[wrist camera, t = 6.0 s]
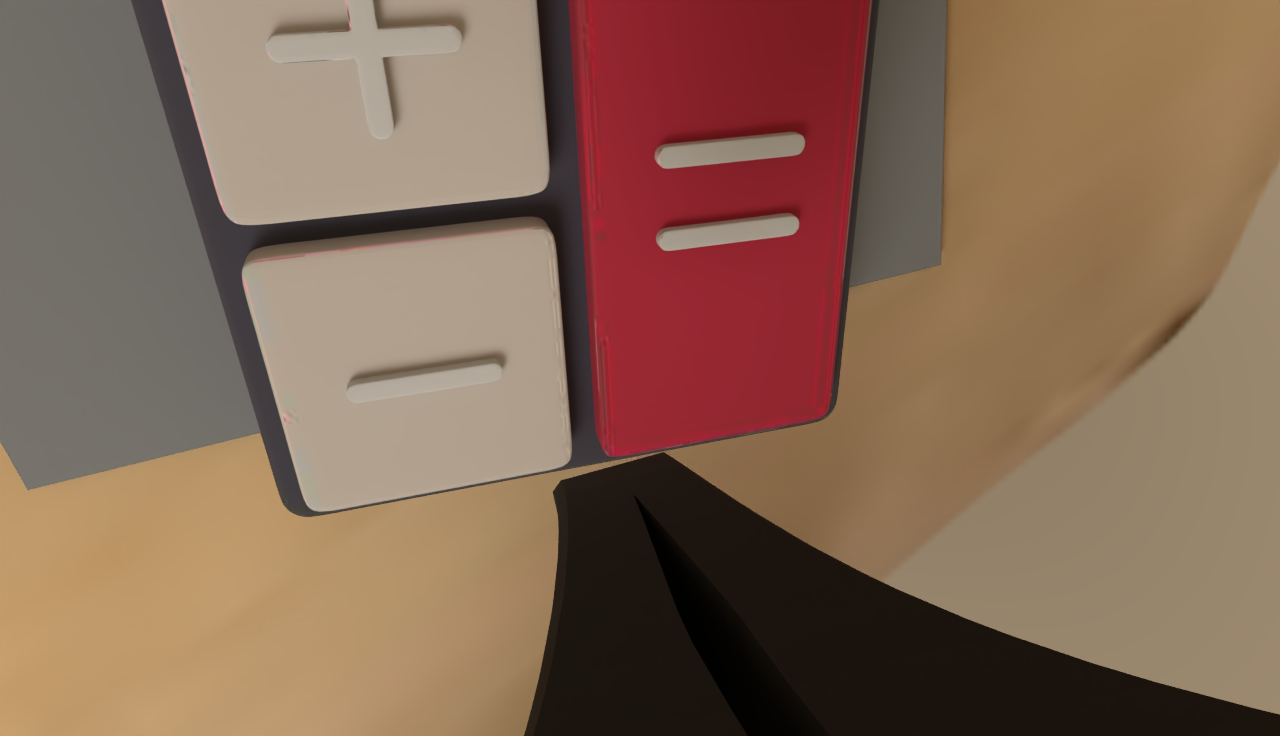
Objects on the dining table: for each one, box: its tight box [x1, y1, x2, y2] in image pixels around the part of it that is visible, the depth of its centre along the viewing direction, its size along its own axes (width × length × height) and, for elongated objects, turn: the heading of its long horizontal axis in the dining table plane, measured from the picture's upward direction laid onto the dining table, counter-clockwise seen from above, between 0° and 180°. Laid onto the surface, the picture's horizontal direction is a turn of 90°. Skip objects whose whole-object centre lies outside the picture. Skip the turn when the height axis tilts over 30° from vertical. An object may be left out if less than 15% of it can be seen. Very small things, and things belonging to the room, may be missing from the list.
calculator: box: [131, 0, 880, 517], centre depth 13 cm, size 11×4×15 cm
